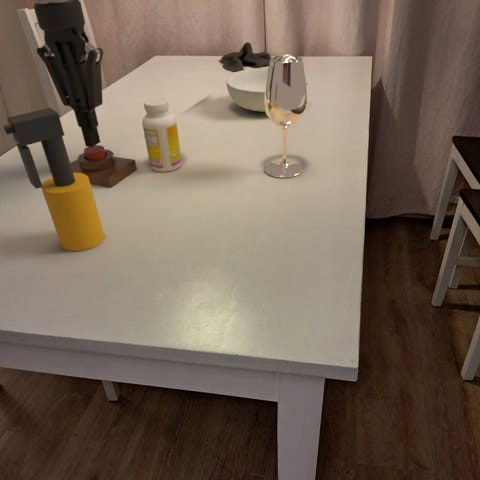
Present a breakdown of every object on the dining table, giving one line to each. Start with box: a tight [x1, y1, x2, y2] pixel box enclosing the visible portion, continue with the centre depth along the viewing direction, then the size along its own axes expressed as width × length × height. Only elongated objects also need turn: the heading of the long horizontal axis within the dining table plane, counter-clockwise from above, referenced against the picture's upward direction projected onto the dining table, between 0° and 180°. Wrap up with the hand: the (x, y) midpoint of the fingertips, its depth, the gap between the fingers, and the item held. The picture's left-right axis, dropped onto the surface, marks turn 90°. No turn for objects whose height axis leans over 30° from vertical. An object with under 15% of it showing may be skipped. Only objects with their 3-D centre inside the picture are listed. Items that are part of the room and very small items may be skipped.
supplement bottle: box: [141, 97, 183, 173], centre depth 93 cm, size 7×7×13 cm
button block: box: [70, 148, 138, 189], centre depth 94 cm, size 12×9×4 cm
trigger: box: [16, 143, 43, 190], centre depth 66 cm, size 1×3×6 cm, turn 36°
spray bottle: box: [2, 107, 105, 252], centre depth 69 cm, size 9×7×20 cm
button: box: [83, 144, 106, 160], centre depth 93 cm, size 4×4×2 cm
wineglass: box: [264, 54, 308, 179], centre depth 87 cm, size 8×8×20 cm
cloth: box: [219, 41, 272, 73], centre depth 158 cm, size 22×19×6 cm
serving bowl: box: [225, 68, 309, 113], centre depth 121 cm, size 21×21×7 cm
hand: (93, 144), depth 91 cm, fingers closed
